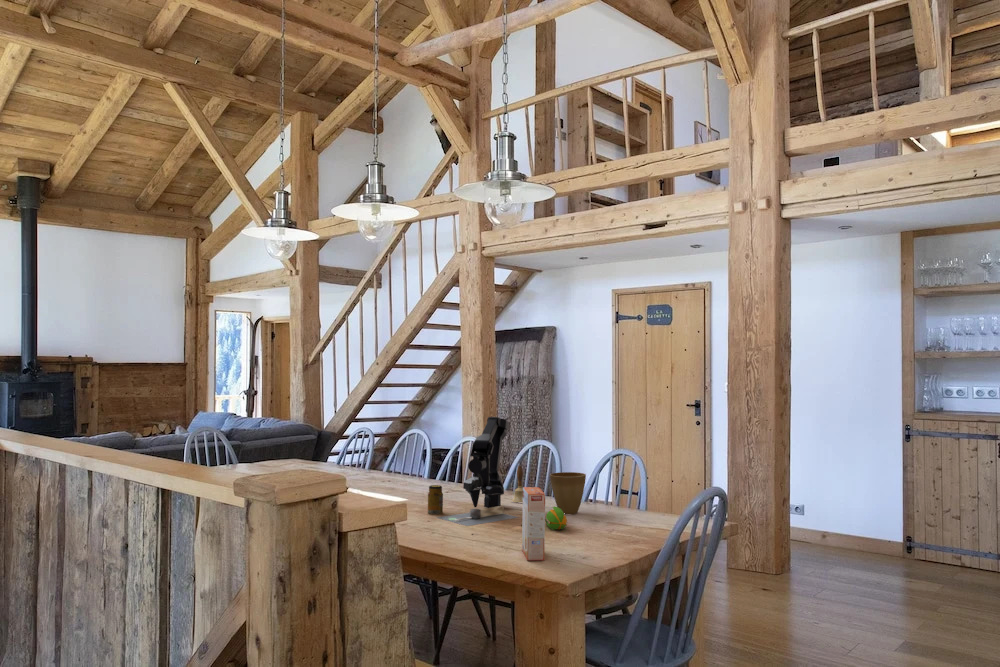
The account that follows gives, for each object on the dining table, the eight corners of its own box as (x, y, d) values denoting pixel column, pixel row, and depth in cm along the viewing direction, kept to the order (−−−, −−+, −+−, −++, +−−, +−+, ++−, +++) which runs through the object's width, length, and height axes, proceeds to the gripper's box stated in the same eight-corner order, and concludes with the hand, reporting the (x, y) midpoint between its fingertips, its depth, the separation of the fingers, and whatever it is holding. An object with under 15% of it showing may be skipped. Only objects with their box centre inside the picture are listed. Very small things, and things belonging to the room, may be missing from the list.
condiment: (437, 513, 311) (437, 484, 312) (449, 516, 305) (449, 486, 305) (422, 515, 307) (422, 485, 307) (434, 518, 300) (434, 488, 301)
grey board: (487, 512, 314) (487, 509, 314) (519, 519, 299) (519, 517, 299) (436, 520, 297) (436, 517, 297) (467, 528, 282) (467, 525, 282)
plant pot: (587, 510, 319) (587, 472, 320) (584, 517, 304) (584, 477, 305) (551, 509, 322) (551, 471, 322) (547, 515, 307) (547, 476, 308)
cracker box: (545, 561, 236) (545, 493, 236) (526, 561, 235) (526, 493, 236) (539, 550, 250) (540, 486, 250) (521, 550, 249) (521, 486, 250)
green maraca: (550, 511, 276) (541, 501, 296) (549, 532, 276) (540, 521, 296) (570, 512, 277) (560, 502, 297) (569, 533, 277) (558, 522, 296)
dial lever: (499, 512, 306) (499, 504, 307) (505, 514, 303) (506, 506, 303) (451, 520, 291) (451, 512, 291) (458, 522, 288) (458, 513, 288)
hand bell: (508, 502, 336) (508, 466, 337) (514, 499, 344) (514, 464, 345) (526, 504, 333) (526, 467, 334) (531, 500, 341) (531, 465, 342)
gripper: (453, 469, 310) (452, 507, 310) (481, 474, 296) (480, 514, 295) (474, 467, 317) (474, 504, 317) (503, 472, 303) (502, 511, 302)
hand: (482, 508), depth 308 cm, fingers open, 9 cm apart
